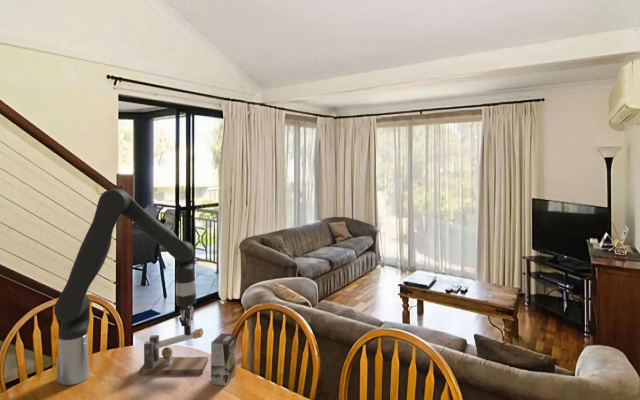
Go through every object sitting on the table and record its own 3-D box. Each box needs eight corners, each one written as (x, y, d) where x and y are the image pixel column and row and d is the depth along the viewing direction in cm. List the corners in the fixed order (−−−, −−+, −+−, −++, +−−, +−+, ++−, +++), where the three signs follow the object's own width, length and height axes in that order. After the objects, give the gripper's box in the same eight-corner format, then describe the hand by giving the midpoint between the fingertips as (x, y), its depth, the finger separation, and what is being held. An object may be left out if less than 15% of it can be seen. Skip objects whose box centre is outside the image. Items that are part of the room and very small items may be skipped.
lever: (148, 352, 150) (146, 346, 150) (151, 347, 153) (150, 342, 153) (201, 336, 151) (199, 331, 151) (203, 333, 154) (202, 328, 154)
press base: (139, 375, 147) (138, 345, 146) (148, 362, 157) (148, 334, 156) (202, 374, 149) (202, 344, 148) (207, 361, 159) (207, 333, 158)
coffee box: (226, 386, 141) (226, 344, 140) (210, 384, 142) (210, 342, 141) (236, 373, 150) (236, 334, 148) (221, 371, 151) (221, 332, 150)
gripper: (181, 287, 157) (182, 327, 158) (171, 298, 144) (172, 342, 145) (199, 286, 158) (201, 327, 159) (191, 297, 144) (192, 341, 146)
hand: (187, 334), depth 152 cm, fingers closed
